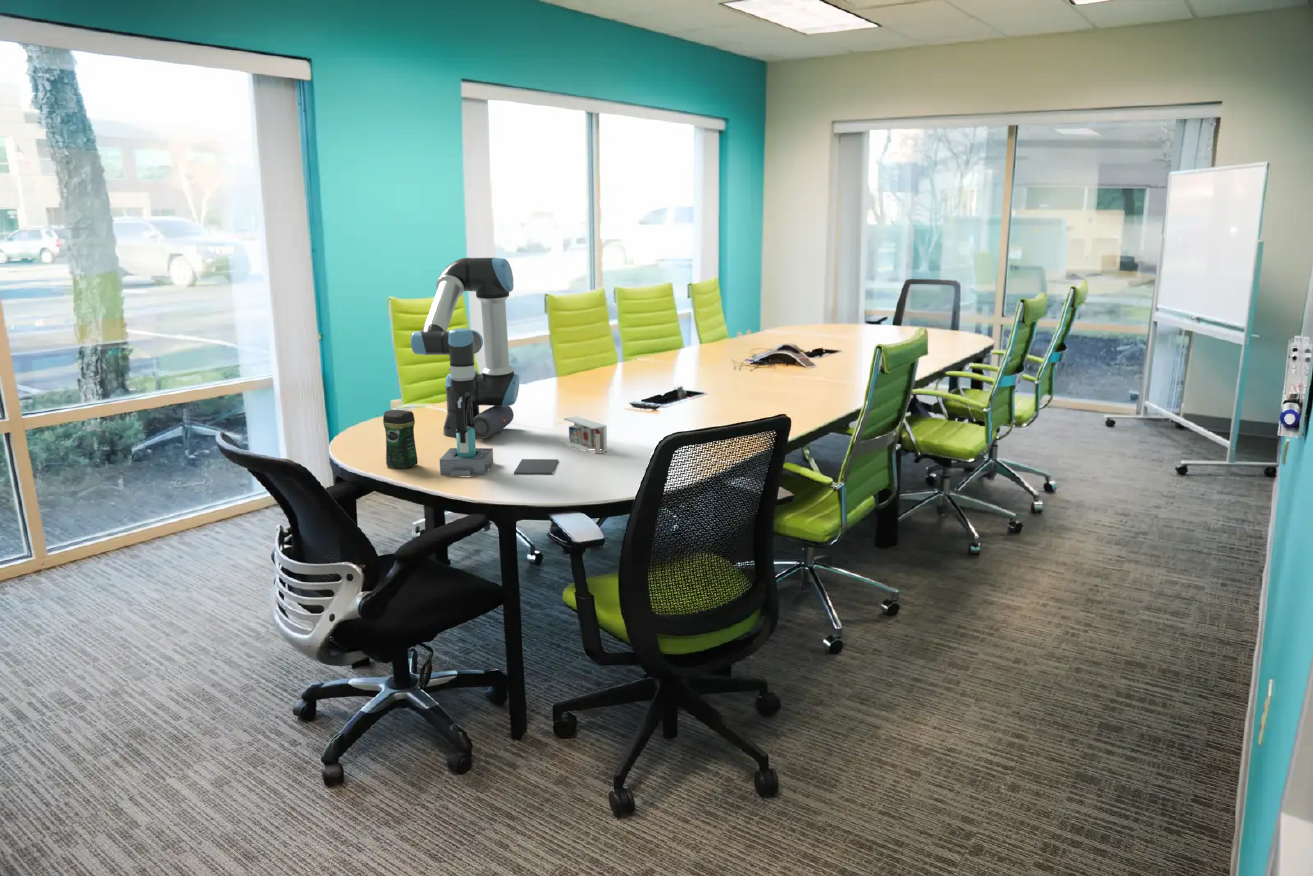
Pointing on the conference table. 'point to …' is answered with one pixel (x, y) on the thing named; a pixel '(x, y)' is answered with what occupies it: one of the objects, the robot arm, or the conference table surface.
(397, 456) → the coffee jar
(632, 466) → the conference table surface
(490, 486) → the conference table surface
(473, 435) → the teal cylinder
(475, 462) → the housing
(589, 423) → the cigarette display
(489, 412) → the bluetooth speaker
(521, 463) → the mat
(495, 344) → the robot arm
